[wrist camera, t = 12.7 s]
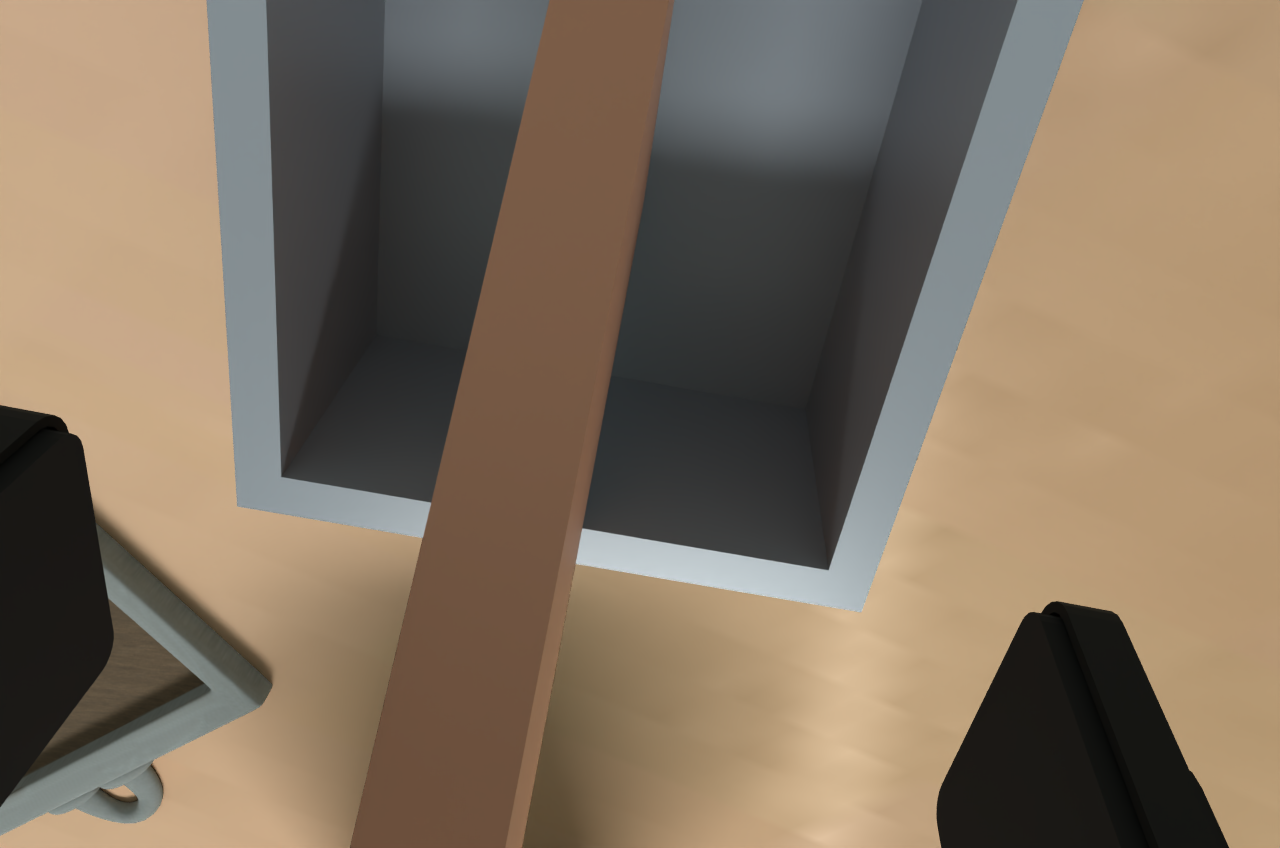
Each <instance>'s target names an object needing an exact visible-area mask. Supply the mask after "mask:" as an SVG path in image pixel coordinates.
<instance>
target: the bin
mask: <svg viewBox="0 0 1280 848" xmlns="http://www.w3.org/2000/svg"><path fill="white" fill-rule="evenodd" d="M1083 1H1084V0H674V6H673V13H672V19H671V26H670V32H669V39H668V46H667V52H666V59H665V65H664V72H663V78H662V85H661V92H660V98H659V105H658V111H657V118H656V124H655V131H654V138H653V144H652V151H651V157H650V164H649V170H648V177H647V183H646V190H645V197H644V203H643V209H642V214H641V219H640V225H639V230H638V235H637V241H636V246H635V251H634V257H633V262H632V267H631V272H630V278H629V283H628V288H627V294H626V299H625V304H624V310H623V315H622V320H621V325H620V331H619V336H618V341H617V347H616V352H615V357H614V363H613V368H612V373H611V379H610V384H609V389H608V394H607V400H606V405H605V410H604V416H603V421H602V426H601V432H600V437H599V442H598V448H597V453H596V458H595V463H594V469H593V474H592V479H591V485H590V490H589V495H588V501H587V506H586V511H585V516H584V522H583V527H582V532H581V538H580V543H579V548H578V554H577V559H576V564H580V565H585V566H591V567H597V568H603V569H609V570H615V571H621V572H627V573H633V574H639V575H644V576H650V577H656V578H662V579H668V580H674V581H680V582H686V583H692V584H697V585H703V586H709V587H715V588H721V589H727V590H733V591H739V592H745V593H750V594H756V595H762V596H768V597H774V598H780V599H786V600H792V601H798V602H803V603H809V604H815V605H821V606H827V607H833V608H839V609H845V610H851V611H856V612H862V609H863V606H864V603H865V601H866V598H867V595H868V592H869V590H870V587H871V584H872V581H873V579H874V576H875V573H876V570H877V567H878V565H879V562H880V559H881V556H882V554H883V551H884V548H885V545H886V543H887V540H888V537H889V534H890V532H891V529H892V526H893V523H894V521H895V518H896V515H897V512H898V510H899V507H900V504H901V501H902V499H903V496H904V493H905V490H906V488H907V485H908V482H909V479H910V477H911V474H912V471H913V468H914V466H915V463H916V460H917V457H918V455H919V452H920V449H921V446H922V444H923V441H924V438H925V435H926V433H927V430H928V427H929V424H930V422H931V419H932V416H933V413H934V411H935V408H936V405H937V402H938V400H939V397H940V394H941V391H942V389H943V386H944V383H945V380H946V378H947V375H948V372H949V369H950V367H951V364H952V361H953V358H954V356H955V353H956V350H957V347H958V345H959V342H960V339H961V336H962V334H963V331H964V328H965V325H966V323H967V320H968V317H969V314H970V312H971V309H972V306H973V303H974V301H975V298H976V295H977V292H978V290H979V287H980V284H981V281H982V279H983V276H984V273H985V270H986V268H987V265H988V262H989V259H990V257H991V254H992V251H993V248H994V246H995V243H996V240H997V237H998V235H999V232H1000V229H1001V226H1002V224H1003V221H1004V218H1005V215H1006V213H1007V210H1008V207H1009V204H1010V202H1011V199H1012V196H1013V193H1014V191H1015V188H1016V185H1017V182H1018V180H1019V177H1020V174H1021V171H1022V169H1023V166H1024V163H1025V160H1026V158H1027V155H1028V152H1029V149H1030V147H1031V144H1032V141H1033V138H1034V136H1035V133H1036V130H1037V127H1038V125H1039V122H1040V119H1041V116H1042V114H1043V111H1044V108H1045V105H1046V103H1047V100H1048V97H1049V94H1050V92H1051V89H1052V86H1053V83H1054V81H1055V78H1056V75H1057V72H1058V70H1059V67H1060V64H1061V61H1062V59H1063V56H1064V53H1065V50H1066V48H1067V45H1068V42H1069V39H1070V37H1071V34H1072V31H1073V28H1074V26H1075V23H1076V20H1077V17H1078V15H1079V12H1080V9H1081V6H1082V4H1083ZM548 5H549V0H207V14H208V31H209V47H210V64H211V80H212V97H213V113H214V130H215V147H216V163H217V180H218V196H219V213H220V229H221V246H222V262H223V279H224V295H225V312H226V328H227V345H228V361H229V378H230V394H231V411H232V428H233V444H234V461H235V477H236V494H237V506H238V507H244V508H250V509H256V510H261V511H267V512H273V513H279V514H285V515H291V516H297V517H303V518H309V519H314V520H320V521H326V522H332V523H338V524H344V525H350V526H356V527H362V528H368V529H373V530H379V531H385V532H391V533H397V534H403V535H409V536H415V537H421V538H423V535H424V531H425V527H426V523H427V519H428V514H429V510H430V506H431V502H432V497H433V493H434V489H435V485H436V480H437V476H438V472H439V468H440V463H441V459H442V455H443V451H444V446H445V442H446V438H447V434H448V429H449V425H450V421H451V417H452V412H453V408H454V404H455V400H456V395H457V391H458V387H459V383H460V378H461V374H462V370H463V366H464V361H465V357H466V353H467V349H468V344H469V340H470V336H471V332H472V327H473V323H474V319H475V315H476V310H477V306H478V302H479V298H480V293H481V289H482V285H483V281H484V276H485V272H486V268H487V264H488V259H489V255H490V251H491V247H492V242H493V238H494V234H495V230H496V226H497V221H498V217H499V213H500V209H501V204H502V200H503V196H504V192H505V187H506V183H507V179H508V175H509V170H510V166H511V162H512V158H513V153H514V149H515V145H516V141H517V136H518V132H519V128H520V124H521V119H522V115H523V111H524V107H525V102H526V98H527V94H528V90H529V85H530V81H531V77H532V73H533V68H534V64H535V60H536V56H537V51H538V47H539V43H540V39H541V34H542V30H543V26H544V22H545V17H546V13H547V9H548Z"/></svg>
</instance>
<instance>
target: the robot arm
mask: <svg viewBox="0 0 1280 848" xmlns="http://www.w3.org/2000/svg"><path fill="white" fill-rule="evenodd" d="M113 642H114V630H113V624H112V618H111V612H110V606H109V600H108V594H107V588H106V582H105V576H104V570H103V564H102V558H101V552H100V546H99V540H98V534H97V528H96V522H95V516H94V510H93V504H92V498H91V492H90V486H89V480H88V474H87V468H86V462H85V456H84V450H83V446H82V443H81V440H80V439H79V438H78V436H76V435H74V434H71V433H69V432H68V429H67V426H66V424H65V423H64V422H63V420H62V419H61V418H59V417H57V416H55V415H50V414H45V413H39V412H34V411H28V410H23V409H18V408H12V407H7V406H2V405H0V807H1V806H2V804H3V803H4V802H5V800H6V799H7V798H8V796H9V795H10V794H11V792H12V791H13V790H14V788H15V787H16V786H17V784H18V783H19V782H20V780H21V779H22V778H23V776H24V775H25V774H26V772H27V771H28V770H29V768H30V767H31V766H32V764H33V763H34V762H35V760H36V759H37V758H38V756H39V755H40V754H41V752H42V751H43V750H44V748H45V747H46V746H47V744H48V743H49V742H50V740H51V739H52V738H53V736H54V735H55V734H56V732H57V731H58V730H59V728H60V727H61V726H62V724H63V723H64V722H65V720H66V719H67V718H68V716H69V715H70V714H71V712H72V711H73V710H74V708H75V707H76V706H77V704H78V703H79V702H80V700H81V699H82V698H83V696H84V695H85V694H86V692H87V691H88V690H89V688H90V687H91V686H92V684H93V683H94V682H95V680H96V679H97V678H98V676H99V675H100V674H101V672H102V671H103V669H104V667H105V666H106V664H107V662H108V660H109V657H110V655H111V651H112V648H113ZM937 826H938V831H939V837H940V842H941V848H1229V846H1228V844H1227V842H1226V840H1225V838H1224V836H1223V833H1222V831H1221V829H1220V827H1219V825H1218V822H1217V820H1216V818H1215V816H1214V814H1213V811H1212V809H1211V807H1210V805H1209V803H1208V800H1207V798H1206V796H1205V794H1204V792H1203V789H1202V788H1201V786H1200V784H1199V783H1198V781H1197V779H1196V778H1195V776H1194V775H1193V773H1192V772H1191V771H1190V770H1189V769H1188V766H1187V764H1186V762H1185V760H1184V757H1183V755H1182V753H1181V751H1180V749H1179V746H1178V744H1177V742H1176V740H1175V738H1174V735H1173V733H1172V731H1171V729H1170V726H1169V724H1168V722H1167V720H1166V718H1165V715H1164V713H1163V711H1162V709H1161V707H1160V704H1159V702H1158V700H1157V698H1156V695H1155V693H1154V691H1153V689H1152V687H1151V684H1150V682H1149V680H1148V678H1147V675H1146V673H1145V671H1144V669H1143V667H1142V664H1141V662H1140V660H1139V658H1138V656H1137V653H1136V651H1135V649H1134V647H1133V644H1132V642H1131V640H1130V638H1129V636H1128V633H1127V631H1126V629H1125V627H1124V625H1123V623H1122V621H1121V619H1120V618H1119V616H1118V615H1117V614H1115V613H1113V612H1112V611H1107V610H1101V609H1096V608H1091V607H1085V606H1080V605H1074V604H1069V603H1064V602H1058V601H1056V602H1051V603H1050V604H1048V605H1047V606H1046V607H1045V608H1044V610H1043V611H1042V613H1036V612H1030V613H1028V614H1027V615H1026V616H1025V617H1024V619H1023V620H1022V622H1021V624H1020V626H1019V628H1018V630H1017V632H1016V634H1015V636H1014V638H1013V640H1012V642H1011V644H1010V646H1009V649H1008V651H1007V653H1006V655H1005V657H1004V659H1003V661H1002V663H1001V665H1000V667H999V669H998V671H997V673H996V675H995V677H994V679H993V681H992V683H991V685H990V687H989V689H988V691H987V693H986V696H985V698H984V700H983V702H982V704H981V706H980V708H979V710H978V712H977V714H976V716H975V718H974V720H973V722H972V724H971V726H970V728H969V730H968V732H967V734H966V736H965V738H964V740H963V743H962V745H961V747H960V749H959V751H958V753H957V755H956V757H955V759H954V761H953V763H952V765H951V767H950V769H949V771H948V773H947V775H946V777H945V779H944V781H943V783H942V786H941V788H940V791H939V796H938V801H937Z"/></svg>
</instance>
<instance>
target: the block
mask: <svg viewBox="0 0 1280 848" xmlns="http://www.w3.org/2000/svg"><path fill="white" fill-rule="evenodd" d="M673 6H674V0H549V5H548V9H547V13H546V17H545V22H544V26H543V30H542V34H541V39H540V43H539V47H538V51H537V56H536V60H535V64H534V68H533V73H532V77H531V81H530V85H529V90H528V94H527V98H526V102H525V107H524V111H523V115H522V119H521V124H520V128H519V132H518V136H517V141H516V145H515V149H514V153H513V158H512V162H511V166H510V170H509V175H508V179H507V183H506V187H505V192H504V196H503V200H502V204H501V209H500V213H499V217H498V221H497V226H496V230H495V234H494V238H493V242H492V247H491V251H490V255H489V259H488V264H487V268H486V272H485V276H484V281H483V285H482V289H481V293H480V298H479V302H478V306H477V310H476V315H475V319H474V323H473V327H472V332H471V336H470V340H469V344H468V349H467V353H466V357H465V361H464V366H463V370H462V374H461V378H460V383H459V387H458V391H457V395H456V400H455V404H454V408H453V412H452V417H451V421H450V425H449V429H448V434H447V438H446V442H445V446H444V451H443V455H442V459H441V463H440V468H439V472H438V476H437V480H436V485H435V489H434V493H433V497H432V502H431V506H430V510H429V514H428V519H427V523H426V527H425V531H424V535H423V540H422V544H421V548H420V552H419V557H418V561H417V565H416V569H415V574H414V578H413V582H412V586H411V591H410V595H409V599H408V603H407V608H406V612H405V616H404V620H403V625H402V629H401V633H400V637H399V642H398V646H397V650H396V654H395V659H394V663H393V667H392V671H391V676H390V680H389V684H388V688H387V693H386V697H385V701H384V705H383V710H382V714H381V718H380V722H379V727H378V731H377V735H376V739H375V744H374V748H373V752H372V756H371V761H370V765H369V769H368V773H367V778H366V782H365V786H364V790H363V795H362V799H361V803H360V807H359V812H358V816H357V820H356V824H355V828H354V833H353V837H352V841H351V845H350V848H522V845H523V840H524V835H525V829H526V824H527V819H528V814H529V808H530V803H531V798H532V792H533V787H534V782H535V776H536V771H537V766H538V760H539V755H540V750H541V745H542V739H543V734H544V729H545V723H546V718H547V713H548V707H549V702H550V697H551V692H552V686H553V681H554V676H555V670H556V665H557V660H558V654H559V649H560V644H561V638H562V633H563V628H564V623H565V617H566V612H567V607H568V601H569V596H570V591H571V585H572V580H573V575H574V570H575V564H576V559H577V554H578V548H579V543H580V538H581V532H582V527H583V522H584V516H585V511H586V506H587V501H588V495H589V490H590V485H591V479H592V474H593V469H594V463H595V458H596V453H597V448H598V442H599V437H600V432H601V426H602V421H603V416H604V410H605V405H606V400H607V394H608V389H609V384H610V379H611V373H612V368H613V363H614V357H615V352H616V347H617V341H618V336H619V331H620V325H621V320H622V315H623V310H624V304H625V299H626V294H627V288H628V283H629V278H630V272H631V267H632V262H633V257H634V251H635V246H636V241H637V235H638V230H639V225H640V219H641V214H642V209H643V203H644V197H645V190H646V183H647V177H648V170H649V164H650V157H651V151H652V144H653V138H654V131H655V124H656V118H657V111H658V105H659V98H660V92H661V85H662V78H663V72H664V65H665V59H666V52H667V46H668V39H669V32H670V26H671V19H672V13H673Z"/></svg>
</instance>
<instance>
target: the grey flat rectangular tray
mask: <svg viewBox="0 0 1280 848" xmlns="http://www.w3.org/2000/svg"><path fill="white" fill-rule="evenodd" d="M96 528H97V534H98V540H99V546H100V552H101V558H102V564H103V570H104V576H105V582H106V588H107V594H108V600H109V606H110V612H111V618H112V624H113V630H114V642H113V648H112V651H111V655H110V657H109V660H108V662H107V664H106V666H105V667H104V669H103V671H102V672H101V674H100V675H99V676H98V678H97V679H96V680H95V682H94V683H93V684H92V686H91V687H90V688H89V690H88V691H87V692H86V694H85V695H84V696H83V698H82V699H81V700H80V702H79V703H78V704H77V706H76V707H75V708H74V710H73V711H72V712H71V714H70V715H69V716H68V718H67V719H66V720H65V722H64V723H63V724H62V726H61V727H60V728H59V730H58V731H57V732H56V734H55V735H54V736H53V738H52V739H51V740H50V742H49V743H48V744H47V746H46V747H45V748H44V750H43V751H42V752H41V754H40V755H39V756H38V758H37V759H36V760H35V762H34V763H33V764H32V766H31V767H30V768H29V770H28V771H27V772H26V774H25V775H24V776H23V778H22V779H21V780H20V782H19V783H18V784H17V786H16V787H15V788H14V790H13V791H12V792H11V794H10V795H9V796H8V798H7V799H6V800H5V802H4V803H3V804H2V806H1V807H0V835H2V834H4V833H7V832H9V831H11V830H13V829H15V828H17V827H19V826H21V825H23V824H25V823H27V822H29V821H31V820H33V819H35V818H37V817H39V816H41V815H43V814H45V813H47V812H49V813H51V814H55V815H58V814H63V813H66V812H69V811H71V810H73V809H75V808H76V809H78V810H80V811H82V812H85V813H87V814H90V815H92V816H95V817H98V818H101V819H104V820H108V821H112V822H118V823H137V822H140V821H144V820H146V819H147V818H149V817H150V816H151V815H153V814H154V813H155V812H156V810H157V809H158V807H159V806H160V804H161V801H162V797H163V788H162V784H161V782H160V779H159V777H158V776H157V774H156V773H155V771H154V769H153V768H152V767H151V764H152V762H153V761H154V759H156V758H158V757H160V756H162V755H164V754H166V753H168V752H170V751H172V750H175V749H177V748H179V747H181V746H183V745H185V744H187V743H189V742H191V741H193V740H195V739H197V738H199V737H201V736H203V735H205V734H207V733H209V732H211V731H213V730H215V729H217V728H219V727H221V726H223V725H225V724H227V723H229V722H231V721H233V720H235V719H237V718H239V717H241V716H243V715H245V714H247V713H249V712H251V711H253V710H255V709H257V708H259V707H260V706H261V705H262V704H263V703H264V701H265V699H266V698H267V696H268V694H269V692H270V690H271V688H272V684H271V683H270V682H269V681H268V680H267V679H266V678H265V677H264V676H263V675H262V674H261V673H260V672H259V671H258V670H256V669H255V668H254V667H253V666H252V665H251V664H250V663H249V662H248V661H247V660H246V659H244V658H243V657H242V656H241V655H240V654H239V653H238V652H237V651H236V650H235V649H233V648H232V647H231V646H230V645H229V644H228V643H227V642H226V641H225V640H224V639H223V638H221V637H220V636H219V635H218V634H217V633H216V632H215V631H214V630H213V629H212V628H210V627H209V626H208V625H207V624H206V623H205V622H204V621H203V620H202V619H201V618H200V617H198V616H197V615H196V614H195V613H194V612H193V611H192V610H191V609H190V608H189V607H187V606H186V605H185V604H184V603H183V602H182V601H181V600H180V599H179V598H178V597H177V596H175V595H174V594H173V593H172V592H171V591H170V590H169V589H168V588H167V587H166V586H164V585H163V584H162V583H161V582H160V581H159V580H158V579H157V578H156V577H155V576H154V575H152V574H151V573H150V572H149V571H148V570H147V569H146V568H145V567H144V566H143V565H141V564H140V563H139V562H138V561H137V560H136V559H135V558H134V557H133V556H132V555H131V554H129V553H128V552H127V551H126V550H125V549H124V548H123V547H122V546H121V545H120V544H119V543H117V542H116V541H115V540H114V539H113V538H112V537H111V536H110V535H109V534H108V533H106V532H105V531H104V530H103V529H102V528H101V527H100V526H99V525H98V524H97V523H96ZM122 785H125V786H126V787H128V788H129V789H130V790H131V791H132V792H133V793H134V794H135V795H136V796H137V798H138V800H137V801H135V802H122V801H119V800H117V799H115V798H113V797H111V796H110V795H108V794H107V793H105V792H104V791H102V790H101V789H100V787H101V788H103V789H114V788H117V787H120V786H122Z"/></svg>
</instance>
